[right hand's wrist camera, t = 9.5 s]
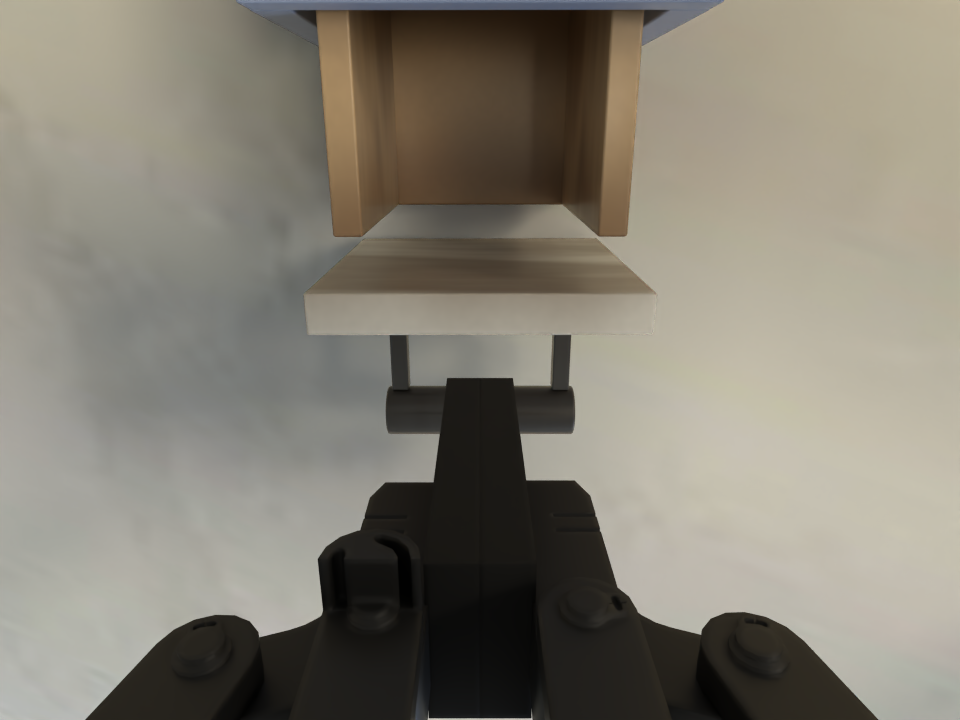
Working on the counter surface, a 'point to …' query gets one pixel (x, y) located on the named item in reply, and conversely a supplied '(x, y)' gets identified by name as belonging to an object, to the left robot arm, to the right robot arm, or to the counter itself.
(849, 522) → the counter surface
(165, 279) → the counter surface
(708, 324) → the counter surface
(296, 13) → the cabinet
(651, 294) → the drawer
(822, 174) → the counter surface
